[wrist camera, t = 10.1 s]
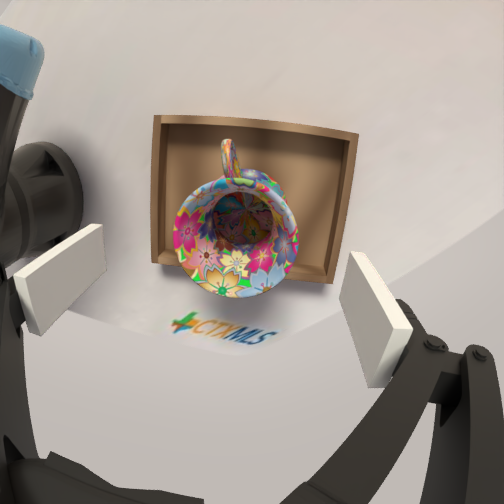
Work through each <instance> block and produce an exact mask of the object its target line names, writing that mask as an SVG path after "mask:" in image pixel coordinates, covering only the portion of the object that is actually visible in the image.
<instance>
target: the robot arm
mask: <svg viewBox="0 0 504 504" xmlns="http://www.w3.org/2000/svg"><path fill="white" fill-rule="evenodd" d="M43 60H44V48H43V46H42V44H41V42H40V41H39V40H37V39H35V38H33V37H31V36H29V35H26V34H24V33H22V32H19V31H17V30H14V29H12V28H9V27H7V26H4V25H2V24H0V504H204V499H201V498H195V497H189V496H184V495H179V494H174V493H170V492H166V491H162V490H142V489H128V488H118V487H115V486H113V485H111V484H110V483H108V482H106V481H105V480H103V479H102V478H100V477H99V476H97V475H96V474H94V473H93V472H91V471H90V470H89V469H87V468H86V467H84V466H83V465H81V464H79V463H76V462H74V461H71V460H69V459H67V458H65V457H62V456H60V455H58V454H56V453H54V452H52V451H50V453H49V455H48V457H47V459H40V458H39V456H38V453H37V450H36V445H35V440H34V436H33V430H32V424H31V419H30V412H29V405H28V397H27V389H26V378H25V366H24V346H23V330H22V328H21V324H22V323H23V322H24V321H26V324H27V327H28V330H29V332H30V333H33V334H36V335H39V336H42V335H43V334H44V333H45V332H46V331H47V329H48V328H50V326H51V325H52V324H53V323H54V322H55V321H56V320H57V319H58V318H59V317H60V316H61V315H62V314H63V313H64V312H65V311H66V310H67V309H68V308H69V307H70V306H71V305H72V304H73V303H74V302H75V301H76V300H77V299H78V298H79V297H80V296H81V295H82V294H83V293H84V292H85V291H86V290H87V289H88V288H89V287H90V286H91V285H92V284H93V283H94V282H95V281H96V280H97V279H98V278H99V277H100V276H101V275H102V274H103V273H104V272H105V271H106V270H107V269H106V260H105V249H104V237H103V225H101V224H90V225H88V226H87V227H85V228H83V229H82V230H80V231H78V228H79V226H80V222H81V218H82V212H83V194H82V188H81V183H80V179H79V176H78V173H77V171H76V169H75V167H74V165H73V163H72V161H71V160H70V158H69V157H68V156H67V154H66V153H65V152H64V151H63V150H61V149H60V148H59V147H57V146H56V145H54V144H51V143H48V142H36V143H30V144H26V145H24V146H21V147H19V148H18V149H16V150H15V151H14V148H15V144H16V140H17V136H18V133H19V129H20V126H21V122H22V119H23V116H24V113H25V110H26V107H27V105H28V102H29V100H32V97H33V89H34V86H35V83H36V80H37V77H38V74H39V72H40V69H41V66H42V64H43ZM77 231H78V232H77ZM35 256H39V257H38V258H37V259H35V260H34V261H32V262H31V263H29V264H28V265H26V266H25V267H24V268H22V269H21V270H19V271H18V272H16V273H15V274H14V275H13V276H12V277H11V278H9V279H7V275H6V271H5V268H7V267H8V266H10V265H11V264H12V263H14V262H16V261H17V260H19V259H20V258H27V257H35ZM339 300H340V303H341V306H342V309H343V312H344V314H345V317H346V320H347V323H348V326H349V329H350V332H351V335H352V338H353V341H354V344H355V347H356V350H357V353H358V356H359V360H360V363H361V366H362V369H363V372H364V376H365V379H366V382H367V386H368V388H385V389H384V391H383V392H382V394H381V395H380V396H379V398H378V399H377V401H376V402H375V403H374V405H373V406H372V407H371V409H370V410H369V411H368V413H367V414H366V415H365V417H364V418H363V419H362V420H361V422H360V423H359V424H358V425H357V427H356V428H355V429H354V430H353V432H352V433H351V434H350V435H349V436H348V438H347V439H346V440H345V441H344V442H343V444H342V445H341V446H340V447H339V448H338V449H337V451H336V452H335V453H334V454H333V455H332V456H331V457H330V458H329V459H328V461H327V462H326V463H325V464H324V465H323V466H322V467H321V468H320V469H319V470H318V471H317V472H316V474H314V476H312V477H311V478H310V479H309V480H308V481H307V482H303V483H302V484H301V485H299V486H298V487H297V488H296V489H295V490H294V491H293V492H292V493H291V494H290V495H288V496H287V497H286V498H285V499H284V500H283V501H282V502H281V503H280V504H368V503H369V502H370V500H371V499H372V497H373V496H374V495H375V493H376V492H377V490H378V489H379V487H380V486H381V485H382V483H383V482H384V480H385V478H386V477H387V475H388V474H389V472H390V471H391V469H392V468H393V466H394V464H395V463H396V461H397V459H398V458H399V456H400V454H401V453H402V451H403V449H404V447H405V446H406V444H407V442H408V440H409V438H410V437H411V435H412V432H413V431H414V429H415V427H416V425H417V423H418V421H419V419H420V417H421V415H422V413H423V411H424V409H425V407H426V405H427V403H428V402H430V403H435V404H436V413H435V422H434V431H433V438H432V445H431V451H430V457H429V463H428V468H427V473H426V478H425V483H424V488H423V492H422V496H421V500H420V504H504V418H503V408H502V401H501V394H500V388H499V382H498V377H497V371H496V366H495V362H494V358H493V356H492V354H491V353H490V352H489V350H487V349H485V347H483V346H479V345H474V344H473V345H469V346H468V347H467V348H466V350H465V352H464V354H458V353H453V352H449V351H448V349H449V348H448V346H447V344H446V343H445V342H444V341H443V340H441V339H440V338H438V337H436V336H433V335H428V334H427V333H426V331H425V329H424V328H423V326H422V325H421V323H420V322H419V320H417V317H416V316H415V314H413V311H412V310H411V308H410V307H409V305H407V304H406V303H405V302H403V301H402V300H401V299H394V297H393V295H392V294H391V292H390V291H389V289H388V288H387V286H386V285H385V283H384V282H383V280H382V279H381V277H380V276H379V274H378V273H377V271H376V270H375V268H374V267H373V265H372V264H371V262H370V261H369V259H368V258H367V256H366V255H365V254H364V253H360V252H352V251H350V254H349V259H348V263H347V268H346V272H345V276H344V280H343V285H342V289H341V293H340V297H339ZM391 377H393V378H392V379H391ZM390 379H391V381H390ZM389 381H390V382H389ZM388 383H389V384H388Z"/></svg>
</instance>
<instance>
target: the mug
mask: <svg viewBox="0 0 504 504" xmlns="http://www.w3.org/2000/svg"><path fill="white" fill-rule="evenodd" d="M221 158H222V166H223V171H224V175H223V176H221V177H220V178H219V179H218V180H214V181H212V182H209V183H207V184H205V185H203V186H201V187H200V188H198V189H197V190H195V191H194V192H193V193H192V194H191V195H190V196H189V197H188V198H187V199H186V200H185V201H184V203H183V204H182V206H181V207H180V209H179V211H178V213H177V216H176V219H175V222H174V228H173V243H174V249H175V253H176V255H177V258H178V260H179V262H180V264H181V266H182V268H183V269H184V271H185V272H186V273H187V274H188V276H189V277H190V278H191V279H192V280H193V281H194V282H196V283H197V284H198V285H200V286H201V287H203V288H204V289H206V290H208V291H210V292H212V293H215V294H217V295H221V296H225V297H232V298H245V297H251V296H255V295H259V294H261V293H264V292H266V291H268V290H270V289H271V288H273V287H275V286H276V285H277V284H278V283H280V282H281V281H282V280H283V279H284V278H285V276H286V275H287V274H288V272H289V271H290V269H291V268H292V266H293V264H294V262H295V259H296V256H297V252H298V245H299V235H298V228H297V224H296V221H295V218H294V216H293V214H292V212H291V210H290V208H289V207H288V204H287V199H286V196H285V194H284V192H283V190H282V188H281V187H280V185H279V184H278V183H277V182H276V181H275V180H274V179H273V178H272V177H270V176H269V175H267V174H265V173H263V172H261V171H258V170H254V169H241V168H240V163H239V159H238V155H237V151H236V148H235V145H234V142H233V141H232V140H231V139H225V140H223V141H222V143H221Z"/></svg>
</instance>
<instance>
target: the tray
mask: <svg viewBox="0 0 504 504" xmlns="http://www.w3.org/2000/svg"><path fill="white" fill-rule="evenodd" d="M358 137H359V134H356V133H351V132H346V131H340V130H335V129H329V128H322V127H316V126H309V125H302V124H295V123H287V122H278V121H269V120H259V119H247V118H234V117H218V116H191V115H154V123H153V138H152V159H151V202H150V218H151V261H152V263H158V264H165V265H173V266H181V264H180V262H179V260H178V258H177V255H176V253H175V249H174V243H173V228H174V222H175V219H176V216H177V213H178V211H179V209H180V207H181V206H182V204H183V203H184V201H185V200H186V199H187V198H188V197H189V196H190V195H191V194H192V193H193V192H194V191H195V190H197V189H198V188H200V187H201V186H203V185H205V184H207V183H209V182H212V181H214V180H218V179H219V178H220V177H221V176H223V175H224V171H223V166H222V158H221V143H222V141H223V140H225V139H231V140H232V141H233V142H234V145H235V148H236V151H237V155H238V159H239V163H240V168H241V169H254V170H258V171H261V172H263V173H265V174H267V175H269V176H270V177H272V178H273V179H274V180H275V181H276V182H277V183H278V184H279V185H280V187H281V188H282V190H283V192H284V194H285V196H286V199H287V204H288V207H289V208H290V210H291V212H292V214H293V216H294V218H295V221H296V224H297V228H298V235H299V245H298V252H297V256H296V259H295V262H294V264H293V266H292V268H291V269H290V271H289V272H288V274H287V275H286V276H285V278H284V279H290V280H299V281H309V282H318V283H328V284H333V280H334V275H335V271H336V266H337V262H338V257H339V252H340V247H341V242H342V237H343V232H344V227H345V221H346V216H347V210H348V205H349V199H350V193H351V186H352V180H353V174H354V167H355V160H356V153H357V145H358ZM181 267H182V266H181Z"/></svg>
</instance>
